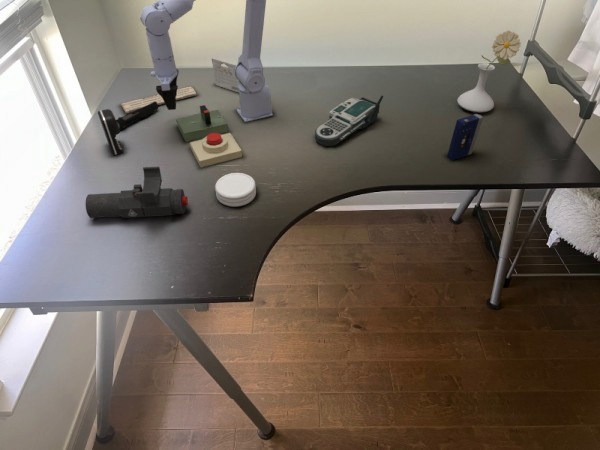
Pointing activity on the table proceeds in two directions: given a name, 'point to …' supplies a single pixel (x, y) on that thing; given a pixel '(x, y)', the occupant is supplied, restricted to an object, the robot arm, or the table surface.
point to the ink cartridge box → (225, 75)
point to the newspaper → (156, 100)
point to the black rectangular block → (205, 114)
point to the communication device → (347, 120)
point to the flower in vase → (478, 97)
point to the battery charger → (110, 130)
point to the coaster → (235, 189)
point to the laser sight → (139, 199)
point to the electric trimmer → (136, 115)
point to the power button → (214, 139)
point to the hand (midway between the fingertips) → (172, 102)
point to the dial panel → (201, 126)
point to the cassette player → (464, 136)
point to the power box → (215, 151)
